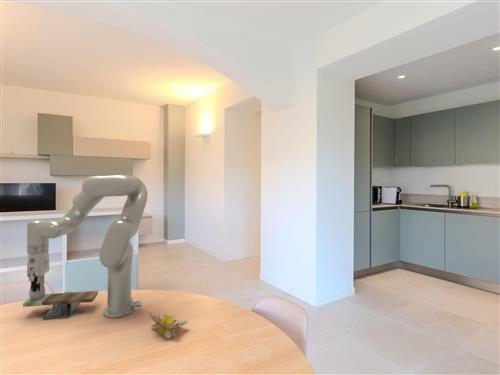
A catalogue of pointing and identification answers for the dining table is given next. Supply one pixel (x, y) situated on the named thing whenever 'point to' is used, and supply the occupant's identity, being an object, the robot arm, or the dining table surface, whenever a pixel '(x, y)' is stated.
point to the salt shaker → (37, 294)
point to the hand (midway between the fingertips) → (37, 290)
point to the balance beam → (63, 298)
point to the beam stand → (61, 310)
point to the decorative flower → (166, 324)
